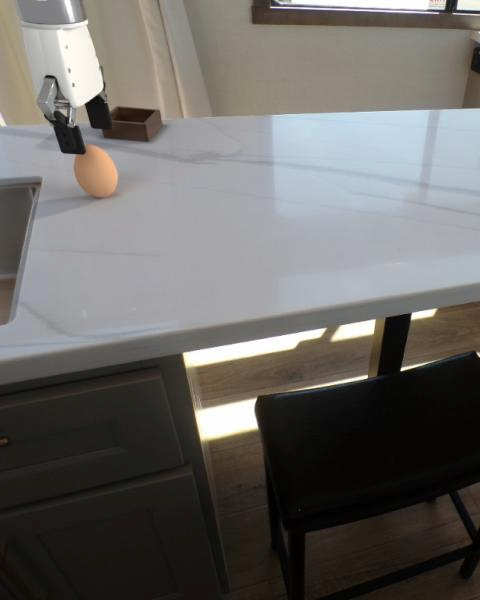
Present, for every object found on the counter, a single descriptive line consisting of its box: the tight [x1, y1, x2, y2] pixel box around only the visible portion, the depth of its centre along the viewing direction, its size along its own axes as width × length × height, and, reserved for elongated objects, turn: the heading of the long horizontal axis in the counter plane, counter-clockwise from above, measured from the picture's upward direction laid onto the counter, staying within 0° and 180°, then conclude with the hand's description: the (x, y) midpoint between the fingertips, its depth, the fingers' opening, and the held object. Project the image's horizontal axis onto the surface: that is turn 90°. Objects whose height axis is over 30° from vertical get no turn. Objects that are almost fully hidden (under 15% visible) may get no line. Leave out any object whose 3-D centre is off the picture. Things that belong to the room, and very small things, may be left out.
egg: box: [73, 144, 119, 199], centre depth 80 cm, size 6×6×8 cm
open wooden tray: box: [101, 105, 164, 143], centre depth 102 cm, size 8×8×3 cm
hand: (89, 140), depth 77 cm, fingers open, 9 cm apart
